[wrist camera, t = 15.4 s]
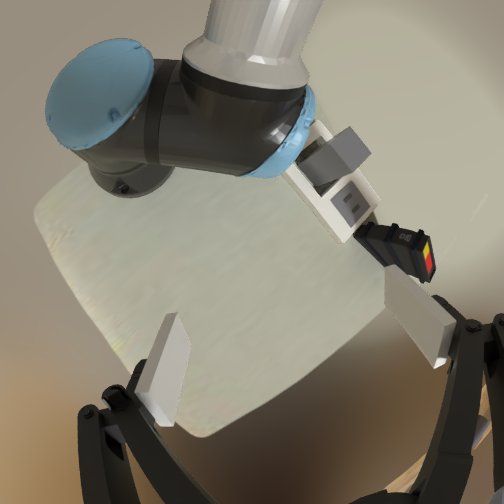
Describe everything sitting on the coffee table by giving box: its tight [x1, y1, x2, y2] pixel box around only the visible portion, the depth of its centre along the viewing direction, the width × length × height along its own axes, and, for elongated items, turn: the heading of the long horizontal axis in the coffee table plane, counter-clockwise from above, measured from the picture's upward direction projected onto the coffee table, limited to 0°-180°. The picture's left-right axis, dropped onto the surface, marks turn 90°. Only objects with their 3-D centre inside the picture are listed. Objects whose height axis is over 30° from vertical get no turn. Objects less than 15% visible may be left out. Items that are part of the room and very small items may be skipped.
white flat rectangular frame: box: [282, 120, 381, 244], centre depth 45 cm, size 19×12×2 cm, turn 42°
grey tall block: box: [297, 126, 371, 187], centre depth 40 cm, size 5×5×12 cm
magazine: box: [354, 222, 436, 283], centre depth 44 cm, size 4×13×15 cm, turn 53°
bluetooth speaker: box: [471, 415, 490, 450], centre depth 61 cm, size 23×9×10 cm, turn 131°
